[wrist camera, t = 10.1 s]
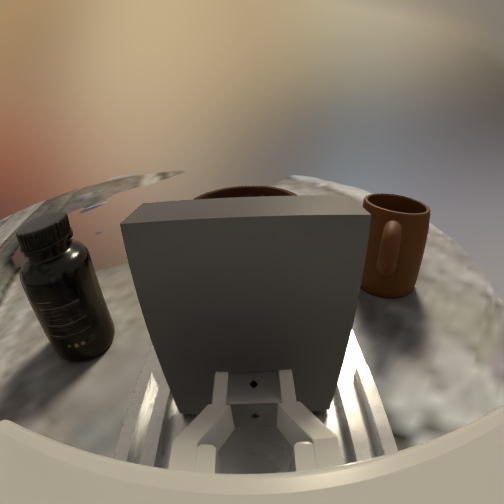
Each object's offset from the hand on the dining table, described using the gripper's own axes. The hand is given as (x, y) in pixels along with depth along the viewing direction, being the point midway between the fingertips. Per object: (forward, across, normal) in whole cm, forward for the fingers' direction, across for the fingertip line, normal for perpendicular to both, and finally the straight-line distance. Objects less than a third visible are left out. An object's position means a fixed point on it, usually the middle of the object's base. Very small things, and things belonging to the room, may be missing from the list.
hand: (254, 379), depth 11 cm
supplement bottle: (+10, +16, +8) cm, 20 cm away
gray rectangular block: (+5, 0, +6) cm, 8 cm away
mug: (+16, -14, +8) cm, 23 cm away
